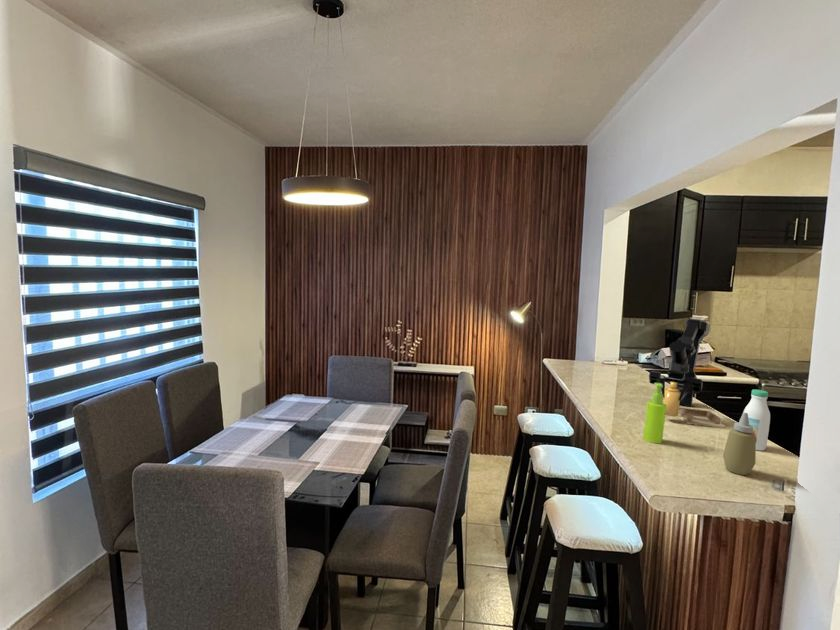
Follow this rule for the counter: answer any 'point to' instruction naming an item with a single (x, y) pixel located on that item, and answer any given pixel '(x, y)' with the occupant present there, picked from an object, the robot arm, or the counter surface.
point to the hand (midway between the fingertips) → (671, 398)
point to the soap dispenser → (655, 417)
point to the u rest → (700, 417)
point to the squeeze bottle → (740, 447)
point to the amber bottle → (672, 399)
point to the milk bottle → (759, 417)
